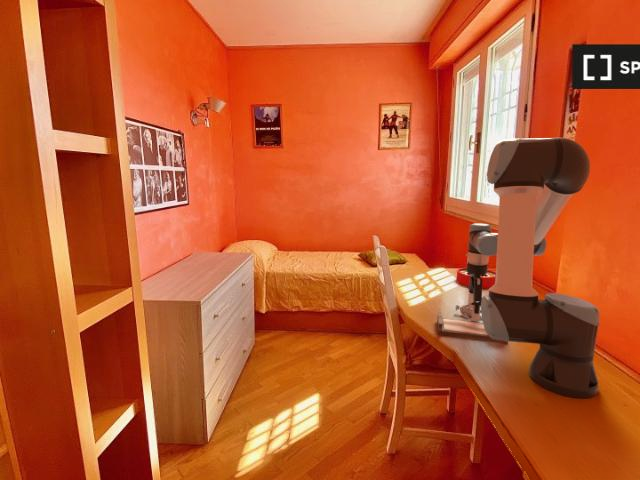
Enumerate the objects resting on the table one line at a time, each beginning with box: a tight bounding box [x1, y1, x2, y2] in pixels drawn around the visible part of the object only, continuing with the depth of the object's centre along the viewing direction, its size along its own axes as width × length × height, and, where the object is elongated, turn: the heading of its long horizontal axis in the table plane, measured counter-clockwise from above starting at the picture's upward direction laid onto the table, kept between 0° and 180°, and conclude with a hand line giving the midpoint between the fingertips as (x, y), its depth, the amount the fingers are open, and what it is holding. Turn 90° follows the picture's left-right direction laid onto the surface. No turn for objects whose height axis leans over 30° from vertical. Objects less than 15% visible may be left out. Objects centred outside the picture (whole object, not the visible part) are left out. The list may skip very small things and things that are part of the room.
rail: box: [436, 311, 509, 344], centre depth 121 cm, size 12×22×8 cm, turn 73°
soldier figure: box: [455, 302, 482, 320], centre depth 135 cm, size 8×5×12 cm
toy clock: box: [456, 267, 496, 289], centre depth 181 cm, size 20×6×20 cm
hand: (473, 314), depth 137 cm, fingers open, 13 cm apart
